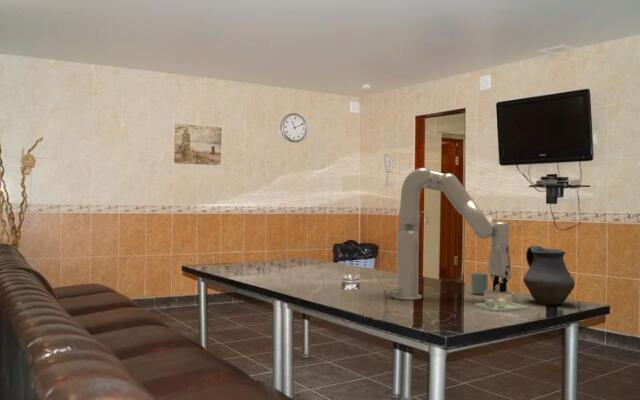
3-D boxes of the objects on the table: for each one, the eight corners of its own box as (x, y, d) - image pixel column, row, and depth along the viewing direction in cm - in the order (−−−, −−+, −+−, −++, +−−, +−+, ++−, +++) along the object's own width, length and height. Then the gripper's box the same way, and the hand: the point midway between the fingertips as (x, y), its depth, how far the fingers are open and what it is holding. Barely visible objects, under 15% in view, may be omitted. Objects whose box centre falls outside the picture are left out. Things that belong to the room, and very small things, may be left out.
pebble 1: (489, 309, 216) (489, 299, 217) (483, 307, 220) (483, 298, 220) (497, 309, 218) (497, 299, 218) (491, 307, 222) (491, 297, 222)
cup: (488, 295, 253) (488, 274, 253) (471, 295, 255) (471, 274, 255) (486, 293, 261) (487, 272, 261) (470, 292, 262) (470, 272, 262)
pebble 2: (499, 293, 235) (499, 284, 235) (493, 292, 239) (493, 283, 239) (506, 293, 236) (506, 284, 236) (500, 291, 240) (500, 282, 240)
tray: (493, 313, 212) (493, 309, 212) (474, 307, 224) (474, 303, 224) (529, 310, 218) (529, 306, 218) (508, 305, 230) (508, 301, 230)
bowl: (496, 305, 228) (496, 295, 228) (478, 300, 240) (478, 290, 240) (520, 304, 232) (520, 293, 232) (501, 299, 244) (501, 289, 244)
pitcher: (551, 309, 221) (552, 249, 221) (510, 301, 240) (511, 245, 240) (584, 305, 230) (584, 247, 230) (542, 297, 249) (543, 244, 250)
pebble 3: (500, 309, 218) (500, 299, 218) (494, 307, 222) (494, 297, 222) (508, 308, 220) (508, 298, 220) (502, 306, 223) (502, 297, 223)
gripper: (481, 248, 244) (480, 288, 244) (505, 251, 228) (505, 294, 228) (494, 248, 247) (494, 287, 247) (519, 251, 231) (519, 293, 231)
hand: (499, 290), depth 237 cm, fingers closed on pebble 2, 4 cm apart
